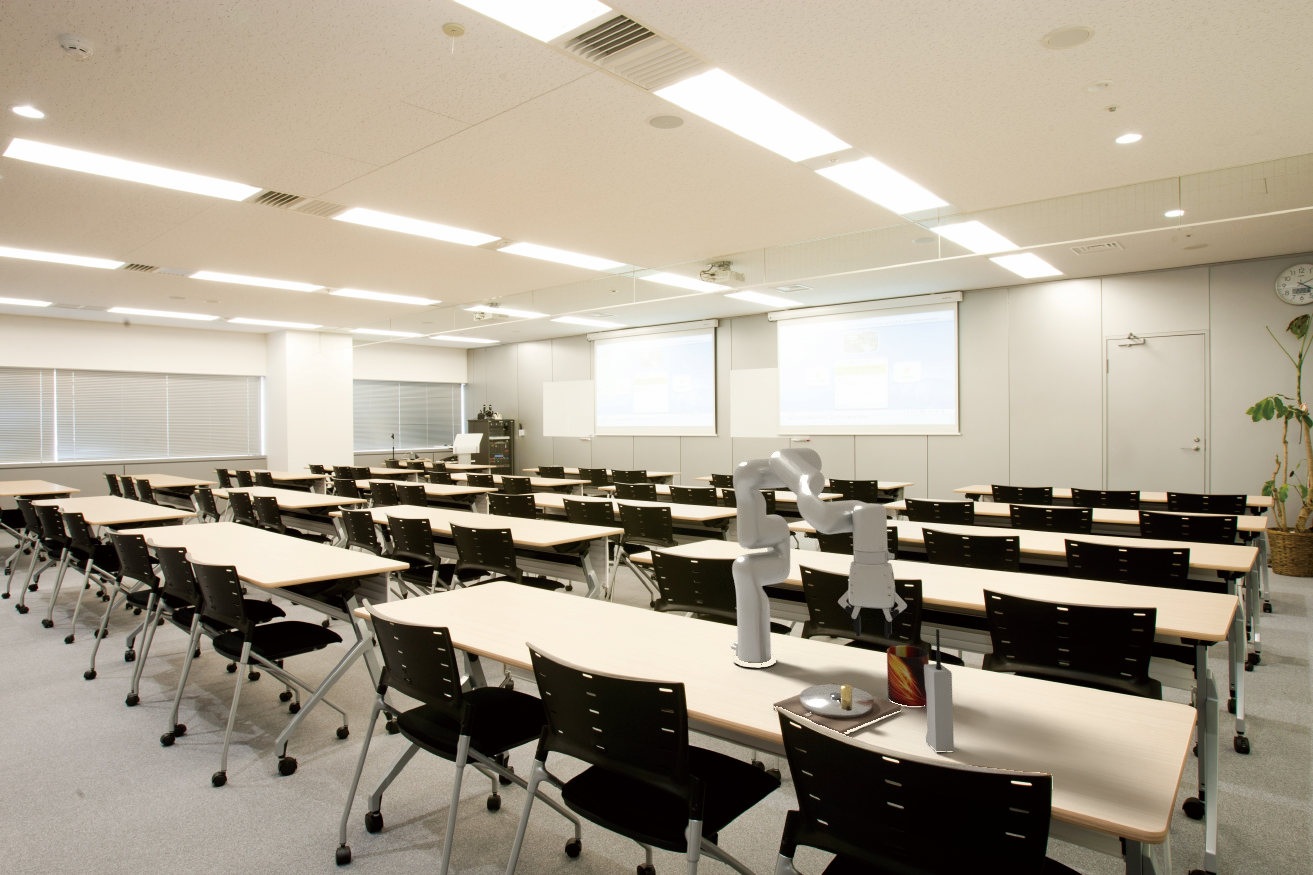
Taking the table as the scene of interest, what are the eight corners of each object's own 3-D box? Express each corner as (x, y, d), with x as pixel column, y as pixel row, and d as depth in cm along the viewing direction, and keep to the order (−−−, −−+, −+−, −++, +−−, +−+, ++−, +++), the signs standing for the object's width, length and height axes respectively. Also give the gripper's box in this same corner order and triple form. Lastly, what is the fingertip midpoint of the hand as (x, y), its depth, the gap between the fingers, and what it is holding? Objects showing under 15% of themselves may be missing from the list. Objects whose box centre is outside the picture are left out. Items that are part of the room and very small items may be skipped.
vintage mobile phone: (943, 742, 145) (939, 624, 145) (954, 752, 140) (950, 631, 140) (925, 742, 145) (922, 625, 145) (936, 753, 140) (932, 631, 140)
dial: (791, 692, 170) (790, 666, 170) (856, 688, 172) (855, 662, 172) (813, 720, 154) (813, 691, 154) (886, 715, 155) (885, 686, 155)
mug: (937, 716, 158) (935, 664, 158) (881, 701, 168) (879, 652, 168) (953, 703, 165) (952, 654, 165) (898, 689, 175) (897, 643, 175)
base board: (773, 709, 165) (773, 702, 165) (833, 687, 178) (833, 681, 178) (840, 737, 148) (840, 730, 148) (900, 711, 161) (900, 704, 161)
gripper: (911, 556, 157) (913, 634, 157) (835, 553, 164) (837, 628, 164) (909, 562, 150) (911, 644, 150) (829, 558, 157) (832, 637, 157)
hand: (872, 635), depth 157 cm, fingers open, 5 cm apart
